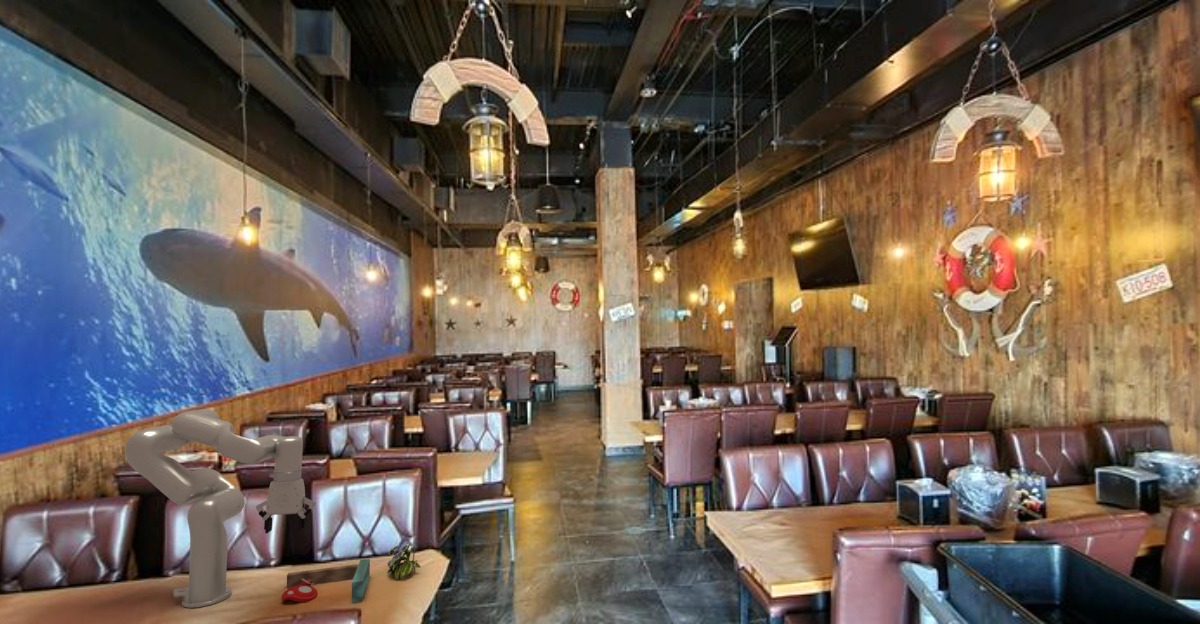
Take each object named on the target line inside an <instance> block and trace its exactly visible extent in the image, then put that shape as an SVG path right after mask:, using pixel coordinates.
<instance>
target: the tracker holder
mask: <svg viewBox="0 0 1200 624" xmlns="http://www.w3.org/2000/svg"><path fill="white" fill-rule="evenodd" d="M301 580H303V581H302V584H301V585H298V586H294V587H291V588H286V589H285V591H284V592H283V593H282V594H281V601H282V603H284V604H286V603H287V602H289V601H294V602H299V603H308V602H310V601H313V600H314V599H316V598H317V597H318V590H317V589H316V588H315V587H314V585H315V584H313V583H312V581H311V580H307V579H301Z"/></svg>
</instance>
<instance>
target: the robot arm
mask: <svg viewBox="0 0 1200 624" xmlns="http://www.w3.org/2000/svg"><path fill="white" fill-rule="evenodd" d="M302 438H303V437H301V436H298V435H297V436H296V435H290V436H281V435H275V434H269V435H265V436H260V437H255V438H248V437H245V436H241V435H239V434H235V433H234V425H233V424H232V423H231V422H230V421H226V420H222V419H221V418H220V415H219V413H217V412H216V411H214V410H212V409H208V408H202V409H201V408H200V409H194V410H187V411H183V412H181V413H179V414H177V415H176V416H174V417H173V419H172V420H171V423H170V424H166V425H165V424H164V425H159V426H154V427H148V428H144V429H141V430H139V431H137V432H135V433H133V434H132V435H131V436H130V437H129V439H128V440H127V442H126V444H125V448H124V449H125V451H124V452H125V453H124V454H125V459H126V461H127V462H128V465H129V466H130V467H131V469H133V470H134V471H135V472H137V473H138V474H139V475H140V476H142V477H143V478H145V479H146V480H148V481H149V482H150V483H151V484H152V486H154V487H155V488H156V489H158V490H159V492H161V493H162V494H163V495H164V496H166V497H167V498H168V499H169V500H170V501H172V502H173V503H174V504H176V505H181V506H182V505H187V504H190V503H193V504H191V506H190V507H189V509H188V512H187V516H186V517H187V525H188V531H189V540H190V541H189V545H190V546H189V569H188V571H189V573H188V574H189V575H188V585H187V586H186V587H178V588H174V589H173V591H172V595H173V597H174V598H180V597H183V598H182V600H181V605H182V607H185V608H187V609H190V608H191V609H192V608H195V609H196V608H201V607H206V606H211V605H213V604H214V605H215V604H217V603H219V602H220V603H221V602H222V601H224V600H225V599H228V598H229V597H230V596H231V595H232V593H233V589H232V588H231V587H230V586H227V571H228V570H227V566H228V565H227V563H228V559H227V558H228V533H227V531H226V530H227V529H226V527H225V525H224V522H225V521H228V520H229V519H231V518H233V517H235V516H237V515H239V514H240V513H241V512H242V511H243V510H244V508H245V505H246V500H245V496H244V494H243V493H242V491H241V490H240V489H239V488H237V487H236V486H235V485H234V484H233V483H232V482H231V481H230V480H228V479H227V478H226V477H225V476H224V475H222V474H221V473H220V472H219V471H217V470H215V469H213V468H207V467H205V468H198V469H195V470H190V469H187V468H186V467H185V466H184V465H182V464H181V463H180V462H179V461H178V460H176V459H174V457H170V456H168V455H166V454H164V453H165V452H170V451H174V450H178V449H180V448H183V447H186V446H188V445H189V444H191V443H194V442H195V443H198V444H202V445H205V446H208V447H211V448H214V449H215V450H216V451H217V453H219V454H220V455H221V456H223V457H224V458H227V459H229V460H232V461H235V462H238V463H243V464H247V465H252V464H253V465H254V464H259V463H262V462H264V461H268V460H272V459H274V470H273V472H270V473H269V474H268V476H269V478H272V479H273V480H272V481H270V484H269V488H268V492H267V497H266V500H264V501H262V502H261V503H259V504H257V505H256V506H255V509H256V510H257V512H258V515H259V516H260V517H261V518H262V520H263V521H264V523H263V530H264V531H265V532H264V534H269V533H270V532H271V531H272V529H273V517H272V516H274V515H275V516H279V515H294V514H295V515H296V514H297V515H298V516H299V517H300V518H299V519H298V532H299V533H302V531H304V530H305V529H306V527H307V518H308V516H309V515H310V514H311V513H312V512H313V511H314V509H315V507H316V505H317V502H315V501H314V500H311V499H310V498H308V497H306V489H305V488H306V487H305V483H304V479H303V478H302V467H303V466H302V465H303V447H304V446H303V444H304V443H303V441H304V440H303V439H302ZM307 505H308V508H307V510H306V509H305V507H306V506H307ZM265 506H266V507H265ZM264 507H265V509H264Z"/></svg>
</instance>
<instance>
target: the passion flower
mask: <svg viewBox="0 0 1200 624" xmlns="http://www.w3.org/2000/svg"><path fill="white" fill-rule="evenodd" d="M410 546H411V543H408V545H407V544H406V545H404V546H403V547H402V548H401V549H400V550H399V551H397V552H396V549H397V548H398V545H396V546H394V547H393V548H391V549H390V551H389V552H388V554H387V556H388V557H389V556H391V555H392V554H394V555H393V556H392V558H391V559H390V560H389V561H388V562H387V563H386V564H387V565H386V568H388V570H387V572H386V573H387V574H389V573H390V574H394V579H395V580H396V581H399V577H400V579H403V578H404V577H405V576H408V575H409V574H410V573H411V571H412V569H413V572H416V568H421V565H420V563H418V560H415V553H416V547H415V546H414V545H412V546H411V547H410ZM411 553H413V555H411ZM411 556H412V560H410V557H411ZM402 561H403V562H402Z"/></svg>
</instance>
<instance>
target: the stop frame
mask: <svg viewBox="0 0 1200 624" xmlns="http://www.w3.org/2000/svg"><path fill="white" fill-rule="evenodd" d="M370 566H371V559H370V558H364V559H360V560H359V563H357V564H356V563H355V564H349V565H343V566H341V565H340V566H333V567H325V568H319V569H312V570H311V569H309V570H303V571H296V572H295V571H294V572H288V573H287V575H286V589H289V588H291V587H294V586H298V585H301V584H302V581H303V580H301V579H307V580H311V581H312V583H313V584H314V585H319V584H328V583H334V582H342V581H348V580H349V581H350V580H352V581H351V604H354V603H360V602H363V601H364V597H365V594H366V591H367V587H368V583H369V580H370V577H371V573H370V572H371V567H370Z"/></svg>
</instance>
